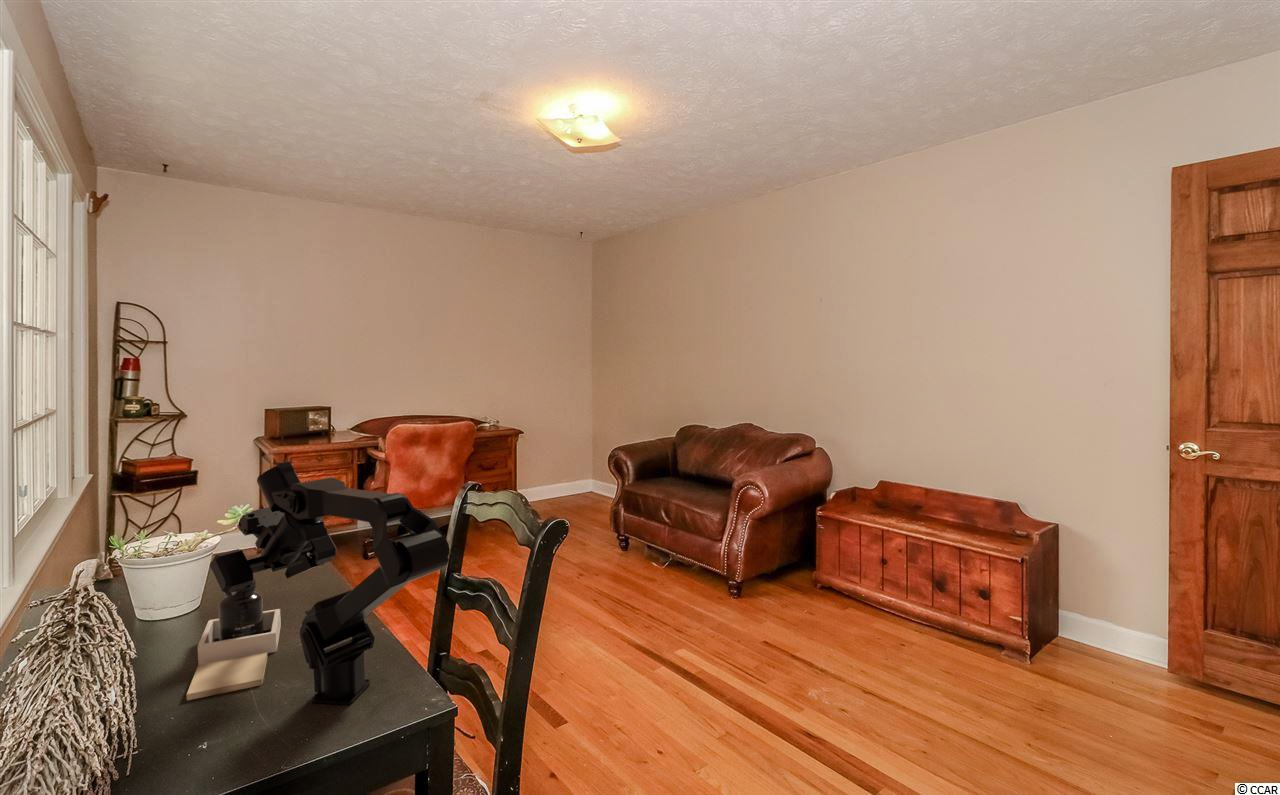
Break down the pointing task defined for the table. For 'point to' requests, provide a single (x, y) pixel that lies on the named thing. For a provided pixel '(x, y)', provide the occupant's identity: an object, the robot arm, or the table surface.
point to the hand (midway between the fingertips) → (260, 584)
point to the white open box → (239, 641)
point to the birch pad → (227, 676)
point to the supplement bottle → (241, 614)
